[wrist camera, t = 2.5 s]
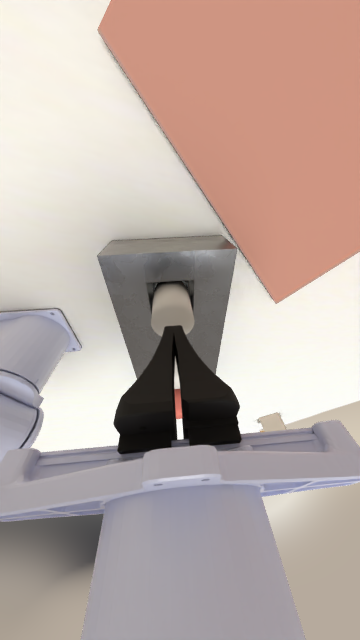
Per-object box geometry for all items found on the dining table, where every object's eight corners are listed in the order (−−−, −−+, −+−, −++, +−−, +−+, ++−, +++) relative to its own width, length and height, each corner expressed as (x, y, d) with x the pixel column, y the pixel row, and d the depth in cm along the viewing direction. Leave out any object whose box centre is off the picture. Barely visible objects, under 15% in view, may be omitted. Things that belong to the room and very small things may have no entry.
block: (148, 383, 36) (146, 408, 32) (111, 240, 18) (97, 255, 14) (205, 379, 36) (210, 402, 32) (222, 235, 19) (237, 248, 15)
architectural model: (279, 414, 52) (294, 443, 46) (257, 420, 54) (268, 449, 48) (277, 410, 50) (291, 440, 44) (254, 417, 52) (265, 446, 46)
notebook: (414, 203, 19) (437, 205, 17) (270, 297, 25) (277, 305, 23) (427, -605, 5) (544, -958, 4) (105, 48, 11) (96, 26, 10)
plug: (155, 309, 20) (154, 340, 16) (151, 279, 18) (148, 306, 14) (188, 307, 20) (193, 337, 16) (188, 277, 18) (195, 303, 14)
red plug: (167, 390, 31) (167, 419, 27) (165, 378, 29) (165, 408, 25) (188, 388, 31) (191, 417, 27) (188, 376, 29) (191, 406, 25)
